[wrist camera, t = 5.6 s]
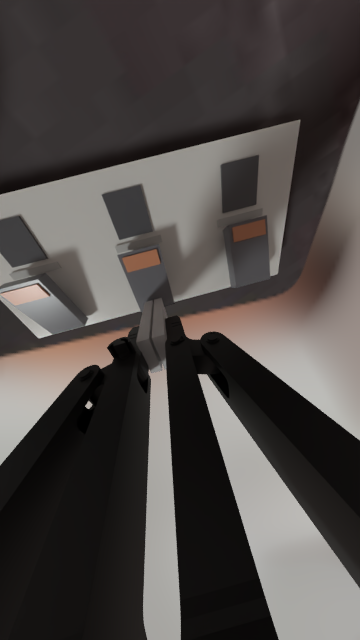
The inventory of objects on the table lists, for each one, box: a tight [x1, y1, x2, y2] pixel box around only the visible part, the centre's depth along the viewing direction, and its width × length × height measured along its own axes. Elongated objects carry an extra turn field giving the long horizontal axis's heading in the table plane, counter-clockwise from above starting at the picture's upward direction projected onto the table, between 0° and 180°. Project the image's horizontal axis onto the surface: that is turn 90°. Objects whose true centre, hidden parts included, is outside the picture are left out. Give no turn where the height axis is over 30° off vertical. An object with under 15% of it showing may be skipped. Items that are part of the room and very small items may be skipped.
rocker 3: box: [223, 215, 270, 288], centre depth 13 cm, size 6×4×1 cm, turn 13°
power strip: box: [0, 119, 301, 338], centre depth 15 cm, size 12×39×4 cm, turn 103°
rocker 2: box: [117, 244, 175, 313], centre depth 13 cm, size 6×4×1 cm, turn 13°
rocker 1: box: [0, 273, 88, 334], centre depth 13 cm, size 6×4×1 cm, turn 12°
